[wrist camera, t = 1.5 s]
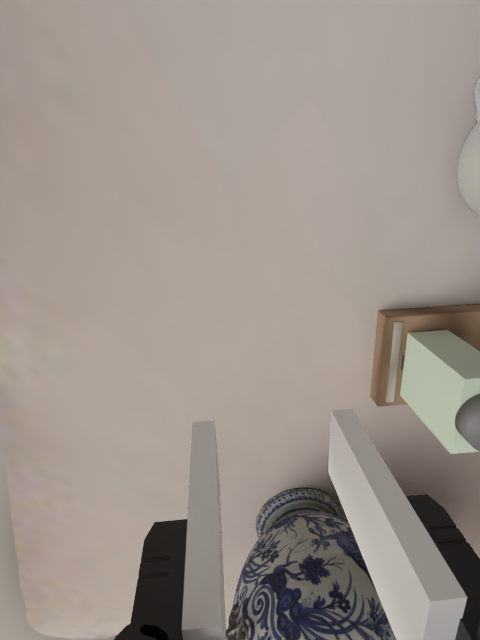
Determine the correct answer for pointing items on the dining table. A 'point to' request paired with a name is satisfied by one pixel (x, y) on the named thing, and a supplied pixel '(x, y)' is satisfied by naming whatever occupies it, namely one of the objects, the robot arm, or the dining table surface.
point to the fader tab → (444, 387)
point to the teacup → (471, 162)
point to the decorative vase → (306, 577)
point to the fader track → (391, 336)
